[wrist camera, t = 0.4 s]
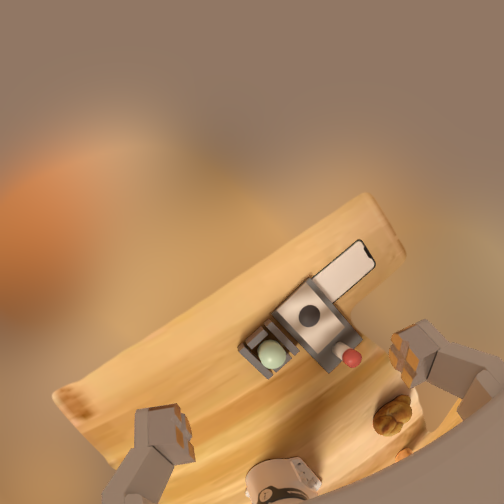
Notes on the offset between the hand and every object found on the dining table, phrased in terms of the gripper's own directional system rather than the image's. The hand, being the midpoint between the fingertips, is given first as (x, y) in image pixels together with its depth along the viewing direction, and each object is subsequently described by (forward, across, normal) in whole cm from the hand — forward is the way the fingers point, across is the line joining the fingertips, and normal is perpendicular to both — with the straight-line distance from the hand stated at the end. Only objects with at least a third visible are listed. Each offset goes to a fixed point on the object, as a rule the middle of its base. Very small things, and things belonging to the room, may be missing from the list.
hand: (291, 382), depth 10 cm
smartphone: (+44, +24, -31) cm, 59 cm away
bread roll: (+25, +30, -68) cm, 78 cm away
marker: (+36, +18, -44) cm, 60 cm away
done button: (+36, +3, -38) cm, 53 cm away
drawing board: (+39, +15, -39) cm, 57 cm away
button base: (+38, +3, -40) cm, 55 cm away
